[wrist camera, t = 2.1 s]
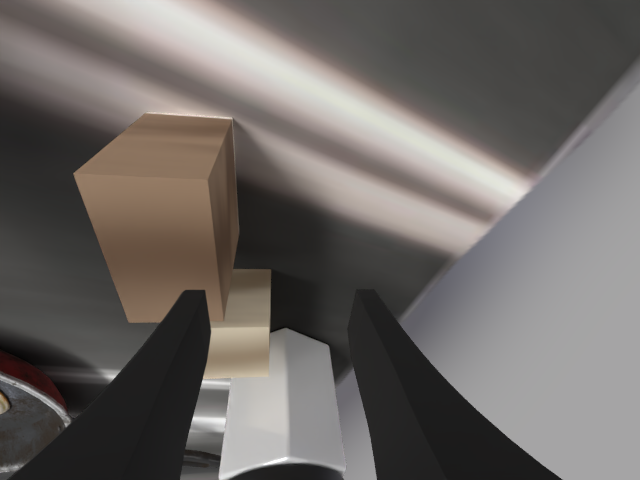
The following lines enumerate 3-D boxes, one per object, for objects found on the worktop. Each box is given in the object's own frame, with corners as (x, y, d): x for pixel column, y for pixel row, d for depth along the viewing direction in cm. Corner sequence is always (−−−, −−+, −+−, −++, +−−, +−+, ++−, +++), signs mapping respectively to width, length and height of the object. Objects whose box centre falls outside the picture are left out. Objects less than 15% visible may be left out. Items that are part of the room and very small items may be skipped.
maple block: (195, 267, 22) (176, 328, 18) (271, 268, 22) (269, 327, 18) (203, 317, 25) (188, 379, 21) (270, 316, 25) (268, 376, 21)
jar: (320, 386, 32) (337, 552, 22) (234, 387, 30) (214, 566, 21) (335, 327, 27) (367, 511, 17) (233, 325, 25) (205, 525, 16)
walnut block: (147, 111, 16) (73, 173, 10) (232, 117, 16) (207, 179, 11) (171, 230, 20) (128, 322, 14) (239, 232, 20) (223, 321, 15)
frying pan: (-243, 268, 19) (-344, 320, 16) (265, 383, 31) (263, 425, 28) (-182, 419, 27) (-239, 470, 24) (195, 462, 40) (188, 499, 37)
